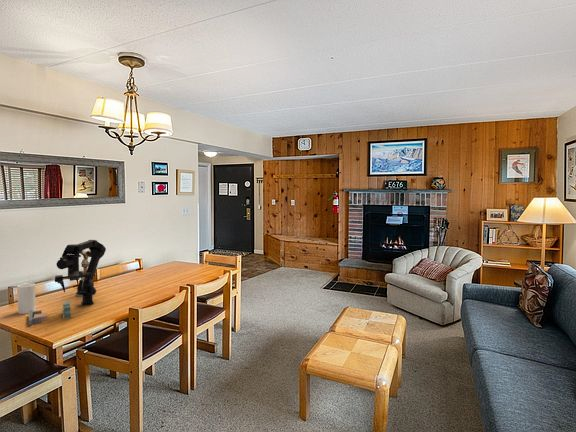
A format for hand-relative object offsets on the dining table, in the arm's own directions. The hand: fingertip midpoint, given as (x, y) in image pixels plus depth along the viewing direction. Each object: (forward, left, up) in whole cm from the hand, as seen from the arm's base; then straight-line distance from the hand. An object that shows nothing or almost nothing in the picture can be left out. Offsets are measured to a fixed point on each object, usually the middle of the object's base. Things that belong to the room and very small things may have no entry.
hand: (73, 291), depth 205 cm
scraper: (+6, -4, -12) cm, 14 cm away
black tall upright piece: (-34, +10, -12) cm, 37 cm away
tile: (+6, -16, -12) cm, 21 cm away
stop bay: (+6, -18, -12) cm, 22 cm away
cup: (-12, -23, -12) cm, 29 cm away
